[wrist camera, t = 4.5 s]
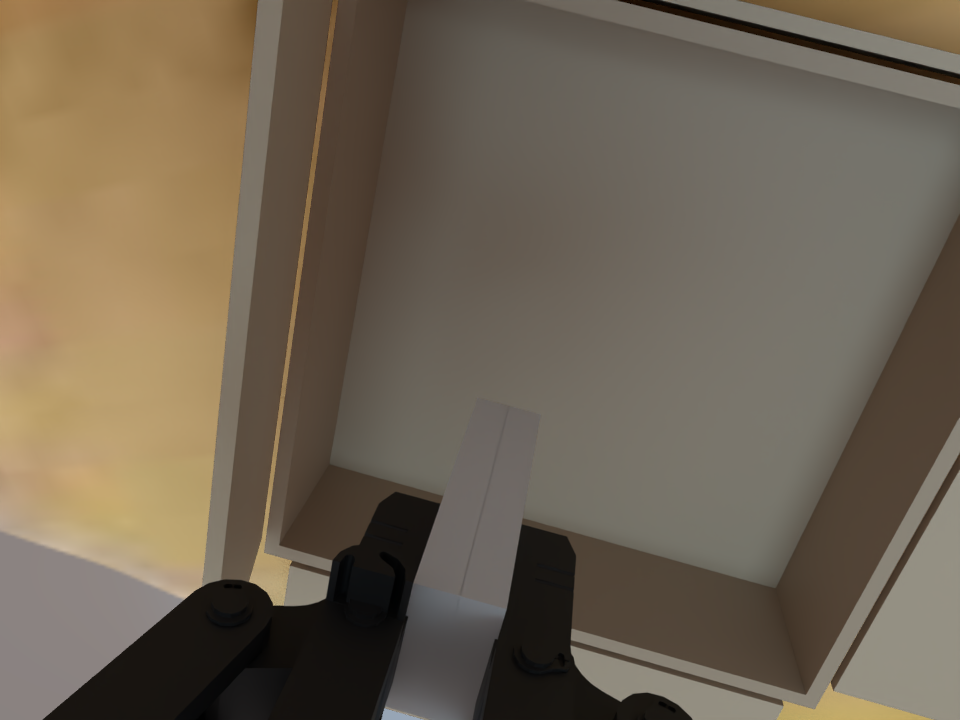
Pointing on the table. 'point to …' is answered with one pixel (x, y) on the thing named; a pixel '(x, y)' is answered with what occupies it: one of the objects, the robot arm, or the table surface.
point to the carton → (650, 331)
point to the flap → (264, 273)
